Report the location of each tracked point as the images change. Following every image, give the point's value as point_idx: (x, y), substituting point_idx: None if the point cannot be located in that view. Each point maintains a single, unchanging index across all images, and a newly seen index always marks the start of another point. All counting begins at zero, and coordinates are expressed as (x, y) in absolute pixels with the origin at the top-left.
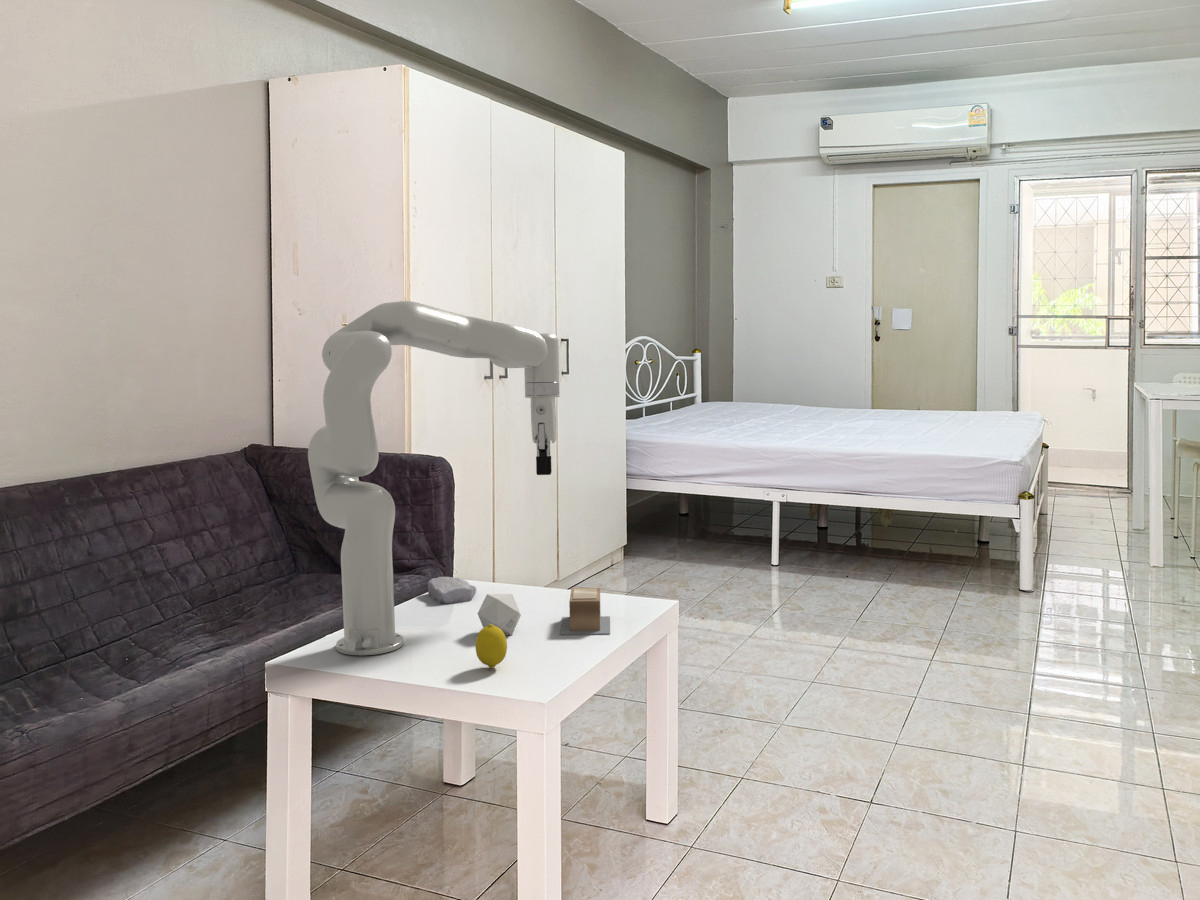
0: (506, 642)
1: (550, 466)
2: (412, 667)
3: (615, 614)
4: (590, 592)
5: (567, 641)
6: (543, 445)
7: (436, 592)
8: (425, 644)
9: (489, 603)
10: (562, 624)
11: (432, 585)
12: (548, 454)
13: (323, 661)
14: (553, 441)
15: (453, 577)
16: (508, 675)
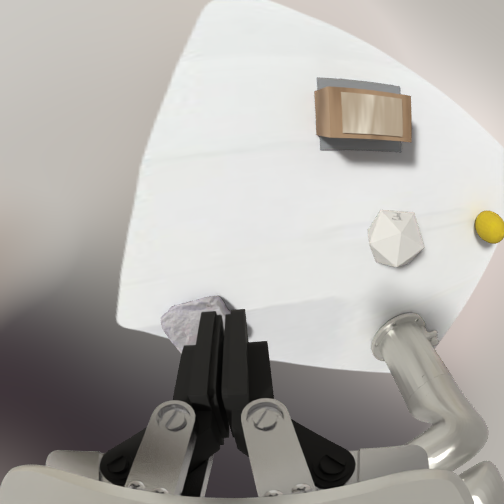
0: (495, 213)
1: (245, 341)
2: (457, 284)
3: (298, 69)
4: (367, 105)
5: (422, 142)
6: (426, 466)
7: None
8: (405, 295)
9: (415, 255)
10: (360, 148)
11: None
12: (289, 416)
13: None
14: (442, 472)
15: (168, 336)
16: (491, 202)
